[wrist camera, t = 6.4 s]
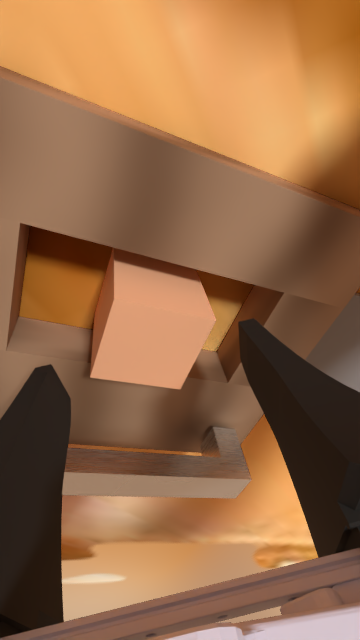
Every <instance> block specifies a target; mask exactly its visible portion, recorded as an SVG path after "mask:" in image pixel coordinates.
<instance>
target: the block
mask: <svg viewBox="0 0 360 640" xmlns="http://www.w3.org/2000/svg"><path fill="white" fill-rule="evenodd" d="M215 322H216V318H215V316H214V313H213V311H212V308H211V306H210V303H209V301H208V298H207V296H206V293H205V291H204V288H203V286H202V283H201V281H200V278H199V276H198V273H197V271H196V269H193V268H189V267H185V266H181V265H178V264H174V263H170V262H166V261H163V260H159V259H155V258H151V257H147V256H144V255H140V254H136V253H132V252H129V251H125V250H121V249H117V248H113V249H112V253H111V256H110V260H109V264H108V267H107V271H106V275H105V278H104V282H103V285H102V289H101V293H100V296H99V300H98V304H97V307H96V311H95V316H94V330H93V344H92V358H91V372H90V378H98V379H105V380H113V381H120V382H128V383H135V384H143V385H150V386H157V387H165V388H172V389H181V387H182V385H183V383H184V381H185V379H186V378H187V376H188V374H189V372H190V370H191V368H192V366H193V364H194V362H195V360H196V358H197V356H198V355H199V353H200V351H201V349H202V347H203V345H204V343H205V341H206V339H207V337H208V335H209V334H210V332H211V330H212V328H213V326H214V324H215Z"/></svg>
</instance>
